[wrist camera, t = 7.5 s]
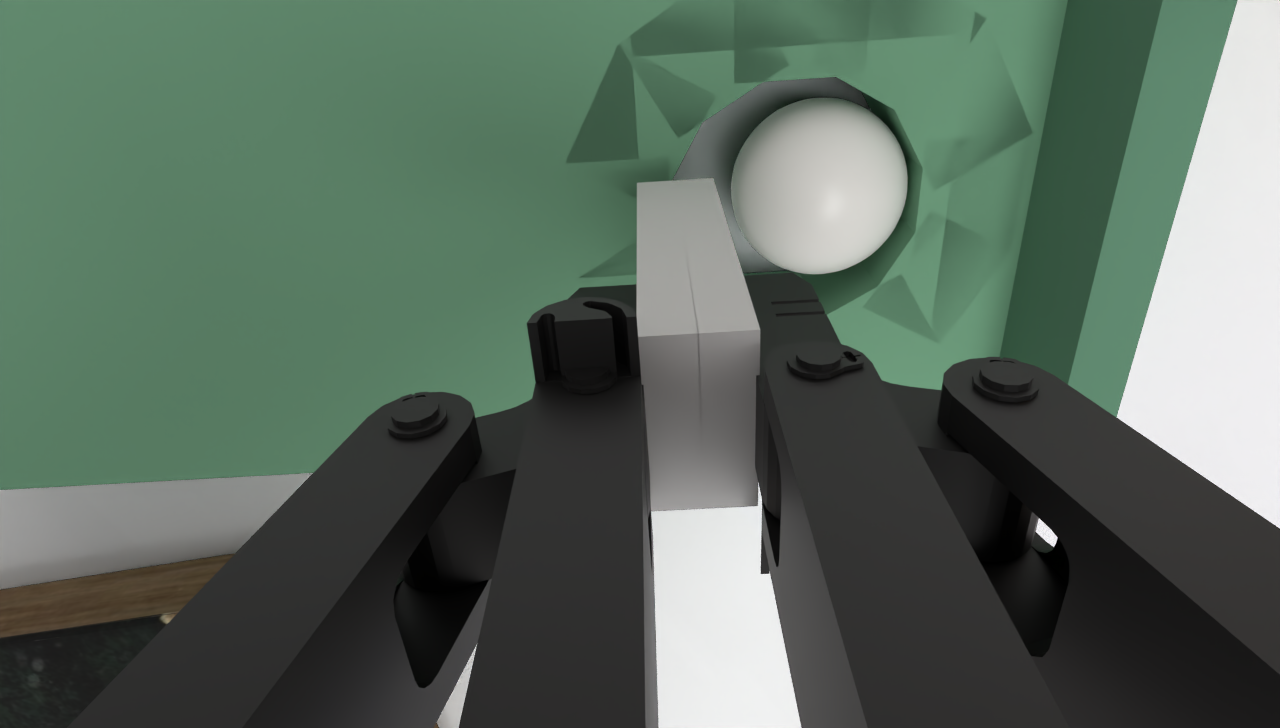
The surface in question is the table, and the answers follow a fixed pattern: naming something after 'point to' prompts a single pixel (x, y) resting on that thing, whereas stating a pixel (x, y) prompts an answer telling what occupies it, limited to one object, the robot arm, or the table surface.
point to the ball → (819, 185)
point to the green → (528, 198)
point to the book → (84, 635)
